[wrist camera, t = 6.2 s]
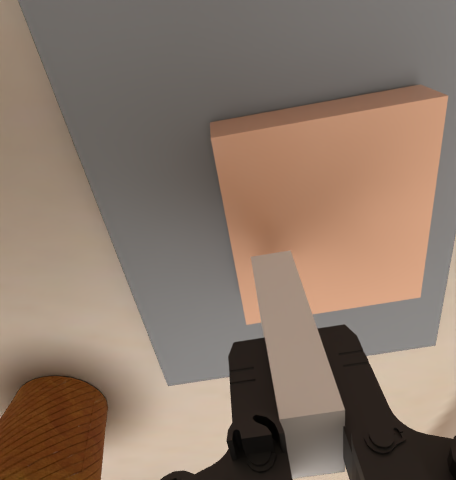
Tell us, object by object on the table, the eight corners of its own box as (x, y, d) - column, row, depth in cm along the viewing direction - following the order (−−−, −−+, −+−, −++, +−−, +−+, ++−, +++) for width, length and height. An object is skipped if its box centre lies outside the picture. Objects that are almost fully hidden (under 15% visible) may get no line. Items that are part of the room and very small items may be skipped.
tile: (210, 138, 15) (448, 95, 14) (209, 120, 17) (416, 83, 16) (246, 324, 20) (420, 297, 20) (242, 293, 22) (399, 268, 22)
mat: (6, -48, 14) (-2, -49, 13) (514, -152, 13) (526, -158, 13) (168, 378, 27) (168, 386, 26) (430, 338, 26) (435, 345, 25)
